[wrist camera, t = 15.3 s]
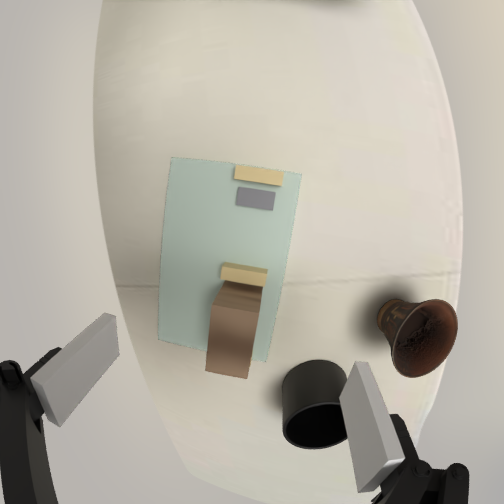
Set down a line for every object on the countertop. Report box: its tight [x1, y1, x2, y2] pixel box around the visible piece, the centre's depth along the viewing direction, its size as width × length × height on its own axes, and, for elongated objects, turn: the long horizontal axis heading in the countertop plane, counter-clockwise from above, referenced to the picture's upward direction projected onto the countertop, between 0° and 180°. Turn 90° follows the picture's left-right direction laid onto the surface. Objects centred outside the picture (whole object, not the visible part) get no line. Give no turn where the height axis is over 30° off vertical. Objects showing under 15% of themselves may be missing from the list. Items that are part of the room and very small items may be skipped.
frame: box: [205, 280, 263, 379], centre depth 30 cm, size 8×5×8 cm, turn 171°
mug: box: [282, 360, 348, 449], centre depth 33 cm, size 9×12×9 cm
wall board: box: [158, 157, 302, 367], centre depth 32 cm, size 24×15×3 cm, turn 171°
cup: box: [377, 299, 458, 378], centre depth 28 cm, size 9×9×10 cm
